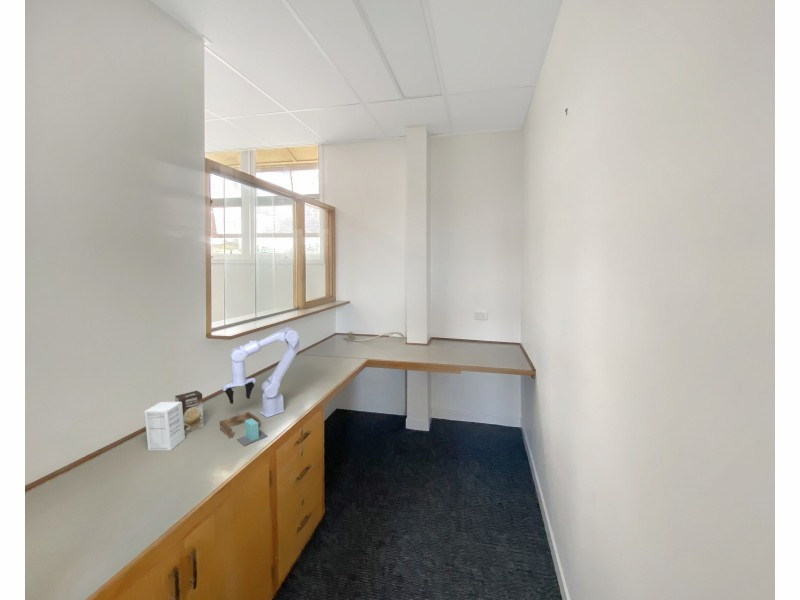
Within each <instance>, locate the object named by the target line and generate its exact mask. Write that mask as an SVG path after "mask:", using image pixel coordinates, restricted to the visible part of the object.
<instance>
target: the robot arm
mask: <svg viewBox="0 0 800 600" xmlns="http://www.w3.org/2000/svg"><path fill="white" fill-rule="evenodd" d="M300 340H301V339H300V335H299V332H298V331H296V330H294V328H293V327H289V326H287V327H284V328H282V329H279V330H278V331H276V332H274V333H272V334H270V335H268V336H266V337H264V338H261V339H259V340H255V339H254V340H249V342H248V343H246V344H244V345H239V347H235V348H233V349H231V351H230V354H229V356H230V357H231V361H230V362H231V365H230V366H231V381H232V382H230V383H227V384H225V385H221V390H222V391H223V392H225V394H226V396H227V398H228V400H229V404H231V405H233V404H234V393H235V391H234V390H233V389H235V388H238V387H243V386H245V387H244V388H245V397H246V399H248V400H250V399H251V398H250V397H251V394H252V391H253V389H254V387H255V383H256V378H254V377H251V378H246V362H245V358H247V357H249V356H252V355H254V354H256V353H258V352H261V349H262V348H263V347H265V346H267V345H270V344H272V343H274V342H277V341H280V342H286V345H287V349H286V351H285V352H284V353H283V355H282V358H281V359H280V360H279V362H278V364H277V366H276V367H275V369H274V371H273V372H272V374H271V375H270V376H268V378H267V379H266V380H265V381H264V382H263V383H262V384H261V390H262V391H263V394H262V396H261V399H262V410H261V411H259V414H260V415H263V416H264V417H265V418H266V419H267V418H270V417H273V416H276V415H279V414H281V413H284V412H285V407H284V406H285V405H284V396H283V394H282V393H281V392H279V389H280V387H281V381H282V379H283V377H284V376H285V375H286V373H287V371H288V369H289V367H290V366H291V364H292V362H293V360H294V358H295V357H296V355H297V354H298V352H299V350H300Z"/></svg>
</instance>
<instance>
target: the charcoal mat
mask: <svg viewBox="0 0 800 600" xmlns="http://www.w3.org/2000/svg"><path fill="white" fill-rule="evenodd" d="M258 431H259V438H258V439H256V440H253V441H251V440H250V439H249V438H247V437H246V436H245V435H244V436H241V437H239V438H237V439H236V441H237V442H238V443H240V444H241V445H242V446H243V447H246V446H248V445H251V444H253V443H256V442H258V441H260V440H263V439H265V438H268V435H267V434H266V433H264V432H263V431H262V430H261V429H260V430H259V429H258Z"/></svg>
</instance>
